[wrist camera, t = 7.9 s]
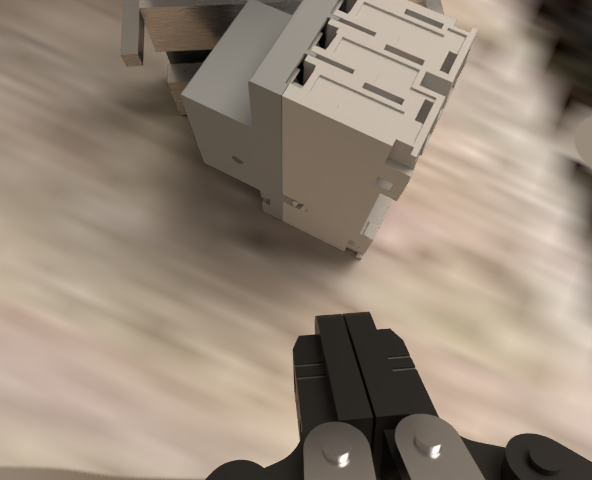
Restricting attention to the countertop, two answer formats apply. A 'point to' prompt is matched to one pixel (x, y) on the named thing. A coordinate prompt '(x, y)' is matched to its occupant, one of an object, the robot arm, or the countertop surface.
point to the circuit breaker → (326, 107)
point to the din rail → (196, 30)
